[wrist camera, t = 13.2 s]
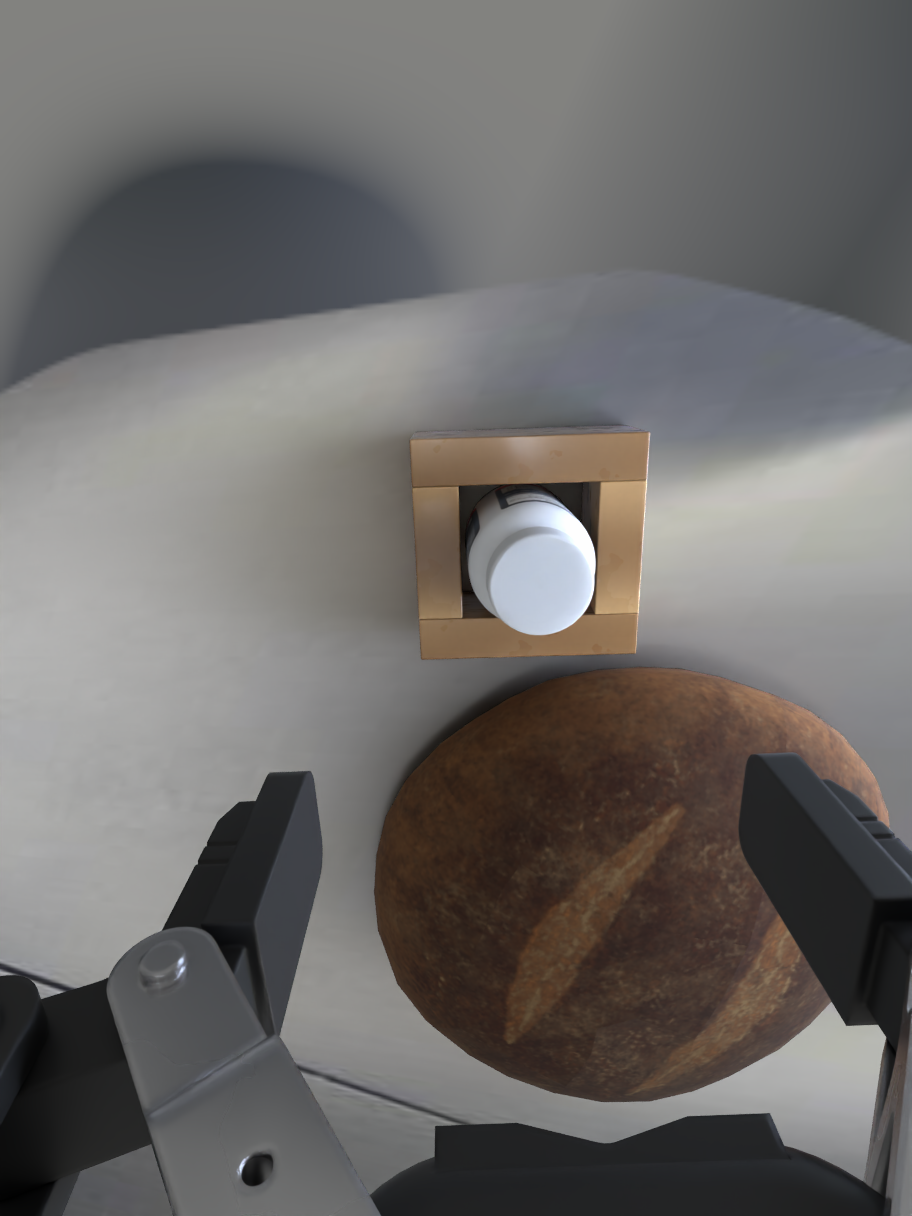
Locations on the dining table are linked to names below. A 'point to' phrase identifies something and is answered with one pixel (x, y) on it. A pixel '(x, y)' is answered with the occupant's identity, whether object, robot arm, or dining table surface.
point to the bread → (603, 884)
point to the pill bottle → (529, 559)
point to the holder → (528, 457)
